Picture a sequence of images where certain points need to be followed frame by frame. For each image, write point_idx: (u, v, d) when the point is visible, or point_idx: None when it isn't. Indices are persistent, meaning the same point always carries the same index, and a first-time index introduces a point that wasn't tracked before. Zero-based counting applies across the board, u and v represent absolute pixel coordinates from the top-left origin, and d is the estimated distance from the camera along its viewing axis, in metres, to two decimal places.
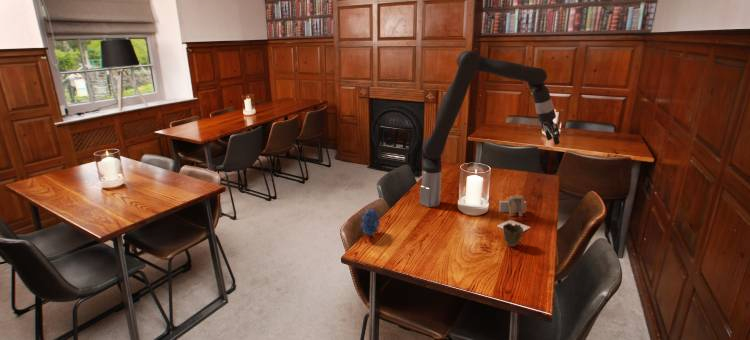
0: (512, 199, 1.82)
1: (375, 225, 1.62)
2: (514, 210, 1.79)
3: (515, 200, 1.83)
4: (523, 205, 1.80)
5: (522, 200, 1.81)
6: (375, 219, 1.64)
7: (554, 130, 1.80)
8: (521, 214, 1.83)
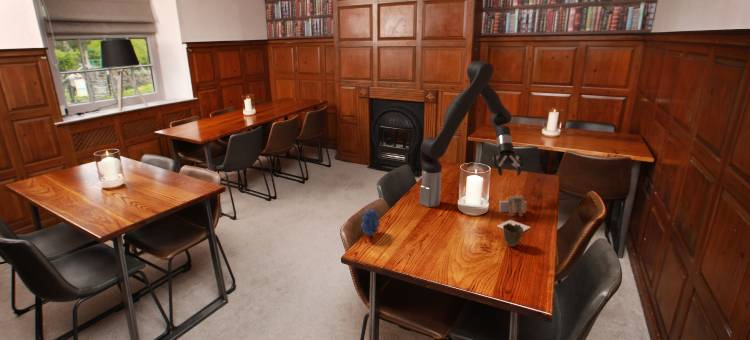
0: (512, 199, 1.82)
1: (375, 225, 1.62)
2: (514, 210, 1.79)
3: (515, 200, 1.83)
4: (523, 205, 1.80)
5: (522, 200, 1.81)
6: (375, 219, 1.64)
7: None
8: (521, 214, 1.83)
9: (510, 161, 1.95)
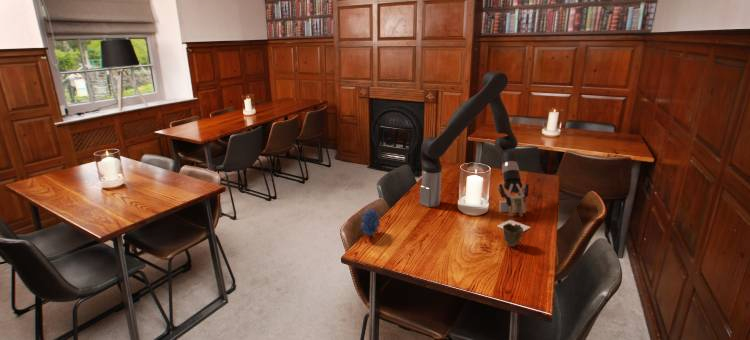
0: (512, 199, 1.82)
1: (375, 225, 1.62)
2: (514, 210, 1.79)
3: (515, 200, 1.83)
4: (523, 205, 1.80)
5: (522, 200, 1.81)
6: (375, 219, 1.64)
7: None
8: (521, 214, 1.83)
9: (515, 189, 1.86)
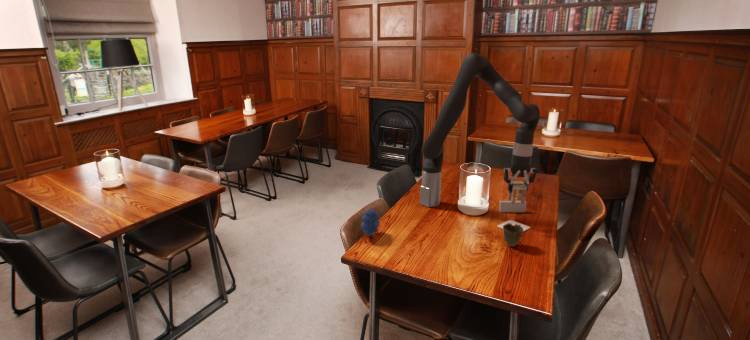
0: None
1: (375, 225, 1.62)
2: None
3: None
4: None
5: None
6: (375, 219, 1.64)
7: (503, 174, 1.67)
8: None
9: None
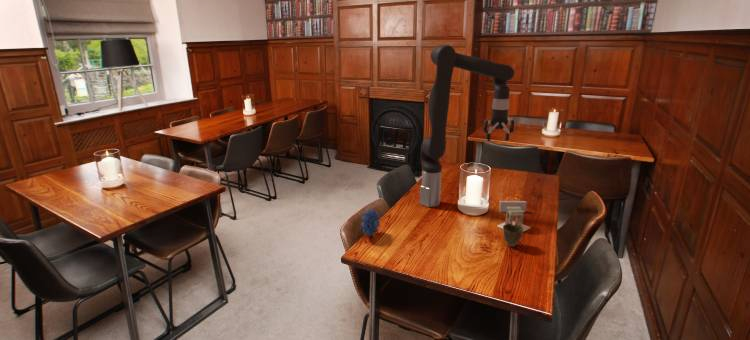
0: None
1: (375, 225, 1.62)
2: None
3: None
4: None
5: None
6: (375, 219, 1.64)
7: (484, 125, 1.95)
8: None
9: None
